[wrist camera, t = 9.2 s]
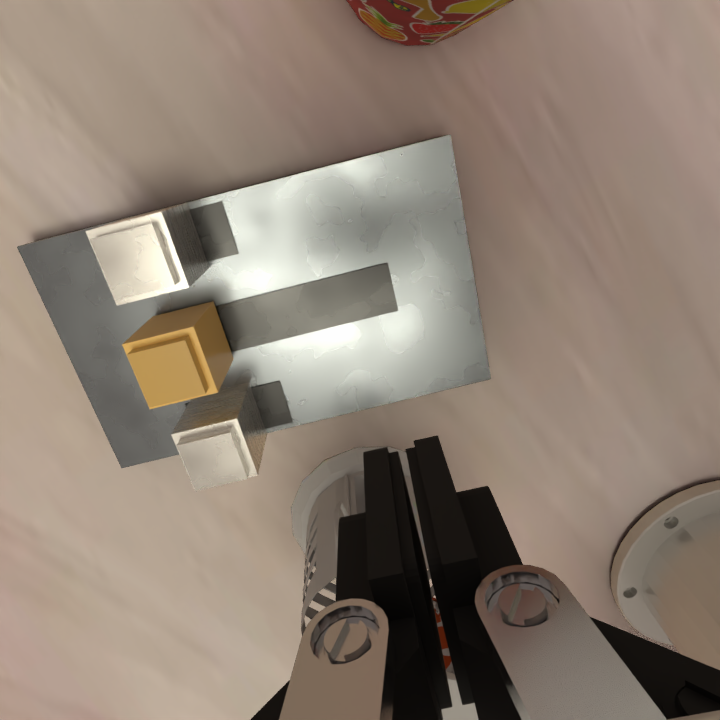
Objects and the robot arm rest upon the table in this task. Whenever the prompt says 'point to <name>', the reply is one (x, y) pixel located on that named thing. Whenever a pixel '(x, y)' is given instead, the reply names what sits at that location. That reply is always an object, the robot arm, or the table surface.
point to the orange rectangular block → (180, 355)
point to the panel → (276, 304)
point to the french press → (320, 541)
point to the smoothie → (422, 17)
